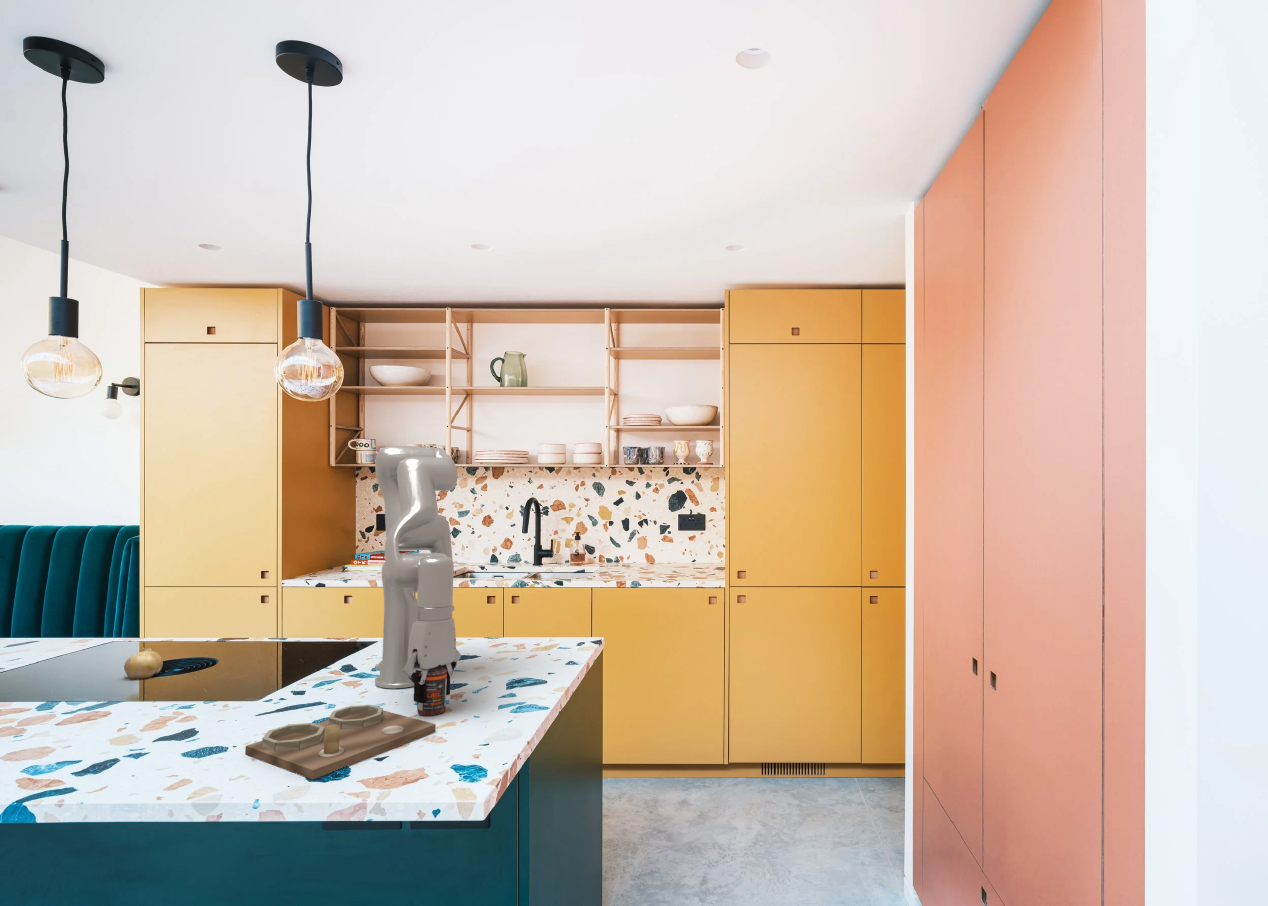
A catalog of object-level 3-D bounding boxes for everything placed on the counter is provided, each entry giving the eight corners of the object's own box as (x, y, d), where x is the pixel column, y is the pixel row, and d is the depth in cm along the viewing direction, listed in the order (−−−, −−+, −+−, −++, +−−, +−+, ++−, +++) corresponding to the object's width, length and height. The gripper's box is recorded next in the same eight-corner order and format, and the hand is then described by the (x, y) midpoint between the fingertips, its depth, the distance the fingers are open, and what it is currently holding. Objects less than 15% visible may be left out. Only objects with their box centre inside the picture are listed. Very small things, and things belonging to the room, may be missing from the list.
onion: (167, 676, 167) (169, 647, 168) (131, 683, 161) (133, 653, 161) (154, 671, 172) (155, 643, 172) (117, 678, 165) (119, 649, 166)
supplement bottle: (419, 718, 137) (421, 663, 138) (414, 709, 142) (416, 657, 143) (448, 714, 140) (449, 660, 140) (442, 706, 145) (444, 654, 146)
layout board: (245, 754, 117) (246, 720, 117) (369, 714, 139) (370, 685, 140) (312, 779, 107) (314, 742, 107) (435, 731, 129) (436, 700, 129)
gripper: (451, 606, 152) (449, 685, 150) (390, 618, 137) (387, 705, 136) (475, 609, 148) (473, 691, 147) (414, 621, 133) (411, 712, 132)
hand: (432, 697), depth 141 cm, fingers closed on supplement bottle, 6 cm apart
